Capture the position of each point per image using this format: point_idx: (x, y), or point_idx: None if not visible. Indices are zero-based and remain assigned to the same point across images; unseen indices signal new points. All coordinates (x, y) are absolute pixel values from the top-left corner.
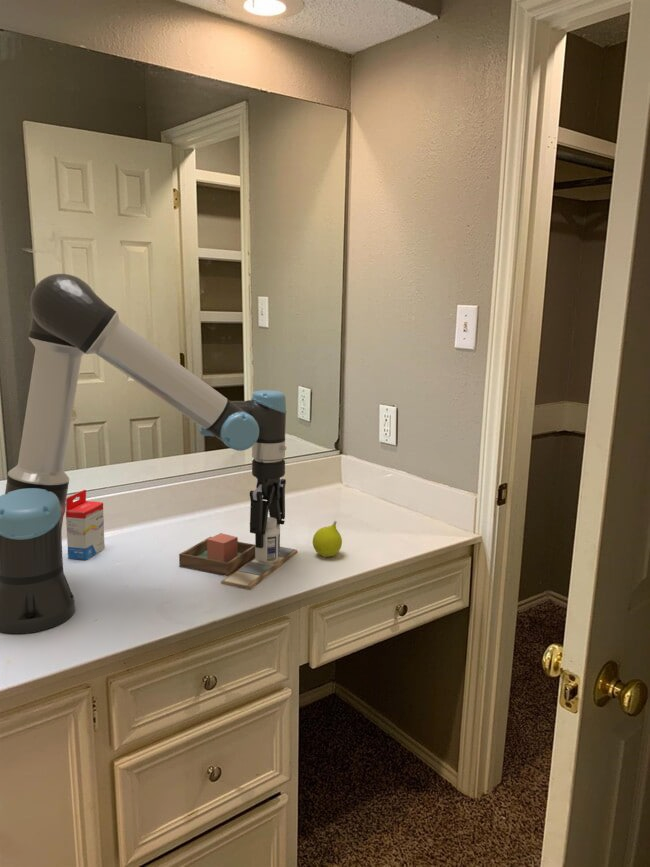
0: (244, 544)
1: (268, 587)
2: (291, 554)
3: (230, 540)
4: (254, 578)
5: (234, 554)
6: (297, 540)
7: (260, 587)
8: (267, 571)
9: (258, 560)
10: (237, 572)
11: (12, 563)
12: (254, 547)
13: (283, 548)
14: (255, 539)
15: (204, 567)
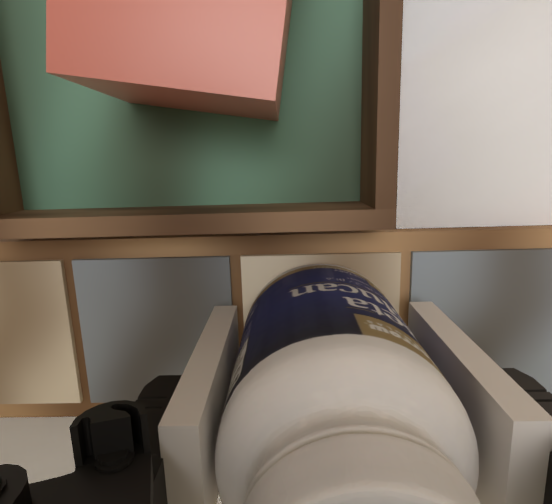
0: (377, 121)
1: (31, 471)
2: None
3: (157, 85)
4: (32, 396)
5: (239, 114)
6: None
7: (8, 440)
8: None
9: (252, 304)
10: (43, 271)
11: None
12: (353, 229)
13: (542, 330)
14: (178, 382)
15: None
